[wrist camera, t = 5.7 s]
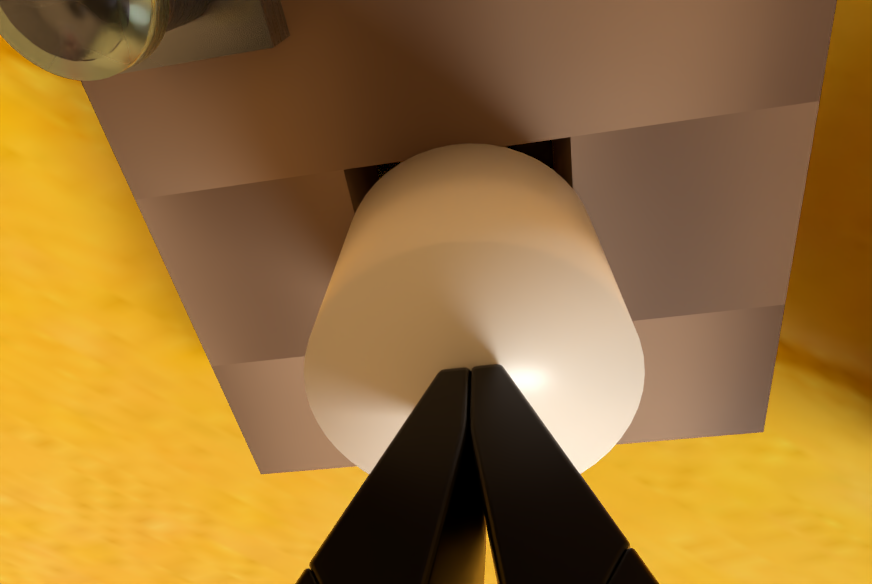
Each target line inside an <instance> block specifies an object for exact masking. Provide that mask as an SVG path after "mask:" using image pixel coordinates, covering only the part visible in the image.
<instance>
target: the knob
mask: <svg viewBox="0 0 872 584" xmlns="http://www.w3.org/2000/svg"><path fill="white" fill-rule="evenodd" d="M490 364H500V365H502V366H503V367H504V368H505V370H506V371H507V373H508V374H509V375H510V377H511V378H512V380H513V381H514V382H515V384H516V385H517V387H518V388H519V389H520V391H521V392H522V394H523V395H524V396H525V398H526V399H527V401H528V402H529V403H530V405H531V406H532V408H533V409H534V410H535V412H536V413H537V415H538V416H539V417H540V419H541V420H542V422H543V423H544V424H545V426H546V427H547V429H548V430H549V431H550V433H551V434H552V436H553V437H554V438H555V440H556V441H557V442H558V444H559V445H560V447H561V448H562V449H563V451H564V452H565V454H566V455H567V456H568V458H569V459H570V461H571V462H572V463H573V465H574V466H575V468H576V469H577V470H578V472H579V473H580V474H581V473H582V472H584V471H585V470H587V469H588V468H590V467H591V466H593V465H594V464H595V463H597V462H598V461H599V460H600V459H601V458H602V457H603V456H605V455H606V454H607V453H608V452H609V451H610V450H611V449H612V448H613V447H614V446H615V444H616V443H617V442H618V441H619V440H620V439H621V437H622V436H623V434H624V433H625V431H626V430H627V428H628V427H629V425H630V424H631V422H632V420H633V418H634V416H635V414H636V411H637V409H638V407H639V403H640V400H641V396H642V393H643V386H644V377H645V368H644V355H643V351H642V347H641V343H640V339H639V336H638V334H637V332H636V329H635V327H634V324H633V322H632V319H631V317H630V315H629V312H628V310H627V307H626V305H625V303H624V300H623V298H622V295H621V293H620V290H619V288H618V286H617V283H616V281H615V278H614V276H613V274H612V271H611V269H610V266H609V264H608V261H607V259H606V257H605V254H604V252H603V249H602V247H601V245H600V242H599V240H598V237H597V235H596V232H595V230H594V228H593V225H592V223H591V220H590V218H589V216H588V213H587V211H586V209H585V207H584V205H583V203H582V202H581V200H580V198H579V197H578V195H577V194H576V192H575V191H574V190H573V189H572V188H571V186H570V185H569V184H568V183H567V182H566V181H565V180H564V179H563V178H562V177H561V176H560V175H559V174H557V173H556V172H555V171H554V170H553V169H551V168H550V167H548V166H547V165H545V164H544V163H542V162H540V161H539V160H537V159H535V158H533V157H531V156H528V155H526V154H524V153H522V152H519V151H515V150H512V149H509V148H506V147H501V146H495V145H489V144H472V143H468V144H456V145H448V146H444V147H439V148H434V149H431V150H428V151H426V152H423V153H420V154H417V155H415V156H413V157H411V158H409V159H407V160H405V161H403V162H401V163H400V164H398V165H397V166H396V167H394V168H393V169H391V170H390V171H388V172H387V173H386V174H385V175H384V176H383V177H382V178H380V179H379V180H378V181H377V182H376V183H375V184H374V185H373V187H372V188H371V189H370V190H369V191H368V193H367V194H366V195H365V197H364V198H363V200H362V202H361V203H360V205H359V206H358V208H357V210H356V213H355V215H354V217H353V220H352V222H351V225H350V228H349V230H348V233H347V236H346V239H345V241H344V244H343V247H342V250H341V252H340V255H339V258H338V261H337V263H336V266H335V269H334V272H333V274H332V277H331V280H330V283H329V285H328V288H327V291H326V294H325V296H324V299H323V302H322V305H321V307H320V310H319V313H318V316H317V318H316V321H315V324H314V327H313V329H312V332H311V335H310V338H309V341H308V345H307V349H306V354H305V361H304V381H305V390H306V394H307V398H308V401H309V405H310V408H311V410H312V412H313V414H314V417H315V419H316V421H317V423H318V424H319V426H320V427H321V429H322V431H323V432H324V434H325V435H326V437H327V438H328V439H329V440H330V441H331V442H332V444H333V445H334V446H335V447H336V448H337V449H338V450H339V451H340V452H341V453H342V454H343V455H344V456H345V457H346V458H347V459H348V460H350V461H351V462H352V463H354V464H355V465H356V466H358V467H359V468H360V469H362V470H363V471H365V472H366V473H368V474H370V473H371V471H372V470H373V468H374V467H375V465H376V464H377V462H378V461H379V459H380V458H381V456H382V455H383V453H384V452H385V451H386V449H387V448H388V446H389V445H390V443H391V442H392V440H393V439H394V437H395V436H396V434H397V433H398V431H399V430H400V428H401V427H402V425H403V424H404V422H405V421H406V419H407V418H408V416H409V415H410V413H411V412H412V410H413V409H414V407H415V406H416V404H417V403H418V402H419V400H420V399H421V397H422V396H423V394H424V393H425V391H426V390H427V388H428V387H429V385H430V384H431V382H432V381H433V379H434V378H435V376H436V375H437V373H438V372H439V371H441V370H443V369H451V368H461V367H467V368H469V369H470V371H471V370H472V368H473V367H474V366H480V365H490Z"/></svg>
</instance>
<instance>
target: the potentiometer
mask: <svg viewBox="0 0 872 584" xmlns="http://www.w3.org/2000/svg"><path fill="white" fill-rule="evenodd" d="M0 35H1V36H2V37H3V38H4V39H5V40H6V41H7V42H8V43H9V44H10V45H11V46H12V47H13V48H14V49H15V50H16V51H17V52H19V53H20V54H21V55H22V56H23V57H25V58H26V59H28V60H29V61H31V62H32V63H34V64H35V65H37V66H39V67H41V68H42V69H44V70H46V71H48V72H51V73H53V74H55V75H58V76H62V77H65V78H69V79H74V80H83V81H92V80H101V79H105V78H109V77H111V76H113V75H116V74H118V73H120V74H123V73H128V72H134V71H140V70H146V69H152V68H157V67H163V66H169V65H175V64H181V63H187V62H192V61H198V60H204V59H210V58H216V57H222V56H227V55H233V54H239V53H245V52H251V51H256V50H262V49H268V48H274V47H275V46H276V45H278V44H279V43H281V42H282V41H283V40H285V39H286V38H288V37H289V36H290V33H289V29H288V26H287V22H286V18H285V15H284V11H283V7H282V4H281V0H0Z"/></svg>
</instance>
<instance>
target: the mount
mask: <svg viewBox="0 0 872 584" xmlns="http://www.w3.org/2000/svg"><path fill="white" fill-rule="evenodd" d="M836 2H837V0H281V4H282V7H283V11H284V15H285V18H286V22H287V26H288V29H289V33H290V36H289V37H288V38H286V39H285V40H283V41H282V42H281V43H279V44H278V45H276V46H275V47H274V48H268V49H262V50H256V51H251V52H245V53H239V54H233V55H227V56H222V57H216V58H210V59H204V60H198V61H192V62H187V63H181V64H175V65H169V66H163V67H157V68H152V69H146V70H140V71H134V72H128V73H123V74H120V73H118V74H116V75H113V76H111V77H109V78H105V79H101V80H92V81H83V80H81V82H82V85H83V87H84V89H85V91H86V93H87V95H88V98H89V100H90V102H91V104H92V106H93V109H94V111H95V113H96V115H97V117H98V119H99V122H100V124H101V126H102V128H103V130H104V133H105V135H106V137H107V139H108V141H109V143H110V146H111V148H112V150H113V152H114V154H115V157H116V159H117V161H118V163H119V165H120V167H121V170H122V172H123V174H124V176H125V178H126V181H127V183H128V185H129V187H130V189H131V191H132V194H133V196H134V198H135V200H136V202H137V205H138V207H139V209H140V211H141V213H142V215H143V218H144V220H145V222H146V224H147V226H148V229H149V231H150V233H151V235H152V237H153V239H154V242H155V244H156V246H157V248H158V250H159V253H160V255H161V257H162V259H163V261H164V263H165V266H166V268H167V270H168V272H169V274H170V277H171V279H172V281H173V283H174V285H175V287H176V290H177V292H178V294H179V296H180V298H181V301H182V303H183V305H184V307H185V309H186V311H187V314H188V316H189V318H190V320H191V322H192V325H193V327H194V329H195V331H196V333H197V335H198V338H199V340H200V342H201V344H202V346H203V349H204V351H205V353H206V355H207V357H208V359H209V362H210V364H211V366H212V368H213V370H214V373H215V375H216V377H217V379H218V381H219V383H220V386H221V388H222V390H223V392H224V394H225V397H226V399H227V401H228V403H229V405H230V407H231V410H232V412H233V414H234V416H235V418H236V421H237V423H238V425H239V427H240V429H241V431H242V434H243V436H244V438H245V440H246V442H247V445H248V447H249V449H250V451H251V453H252V455H253V458H254V460H255V462H256V464H257V466H258V469H259V471H260V473H261V474H270V473H281V472H293V471H305V470H317V469H329V468H341V467H353V466H356V465H355V464H354V463H352V462H351V461H350V460H348V459H347V458H346V457H345V456H344V455H343V454H342V453H341V452H340V451H339V450H338V449H337V448H336V447H335V446H334V445H333V444H332V442H331V441H330V440H329V439H328V438H327V437H326V435H325V434H324V432H323V431H322V429H321V427H320V426H319V424H318V423H317V421H316V419H315V417H314V414H313V412H312V410H311V408H310V405H309V401H308V398H307V394H306V390H305V381H304V361H305V354H306V349H307V345H308V341H309V338H310V335H311V332H312V329H313V327H314V324H315V321H316V318H317V316H318V313H319V310H320V307H321V305H322V302H323V299H324V296H325V294H326V291H327V288H328V285H329V283H330V280H331V277H332V274H333V272H334V269H335V266H336V263H337V261H338V258H339V255H340V252H341V250H342V247H343V244H344V241H345V239H346V236H347V233H348V230H349V228H350V225H351V222H352V220H353V217H354V215H355V213H356V210H357V208H358V206H359V205H360V203H361V202H362V200H363V198H364V197H365V195H366V194H367V193H368V191H369V190H370V189H371V188H372V187H373V185H374V184H375V183H376V182H377V181H378V180H379V175H378V171H377V166H376V165H380V164H387V163H394V162H400V161H405V160H407V159H409V158H411V157H413V156H415V155H417V154H420V153H423V152H426V151H428V150H431V149H434V148H439V147H444V146H448V145H456V144H468V143H472V144H489V145H495V146H501V147H504V146H511V145H518V144H525V143H532V142H539V141H546V140H552V144H553V160H554V171H555V172H556V173H557V174H559V175H560V176H561V177H562V178H563V179H564V180H565V181H566V182H567V183H568V184H569V185H570V186H571V188H572V189H573V190H574V191H575V192H576V194H577V195H578V197H579V198H580V200H581V202H582V203H583V205H584V207H585V209H586V211H587V213H588V216H589V218H590V220H591V223H592V225H593V228H594V230H595V232H596V235H597V237H598V240H599V242H600V245H601V247H602V249H603V252H604V254H605V257H606V259H607V261H608V264H609V266H610V269H611V271H612V274H613V276H614V278H615V281H616V283H617V286H618V288H619V290H620V293H621V295H622V298H623V300H624V303H625V305H626V307H627V310H628V312H629V315H630V317H631V319H632V322H633V324H634V327H635V329H636V332H637V334H638V336H639V339H640V343H641V347H642V351H643V355H644V368H645V377H644V386H643V393H642V396H641V400H640V403H639V407H638V409H637V411H636V414H635V416H634V418H633V420H632V422H631V424H630V425H629V427H628V428H627V430H626V431H625V433H624V434H623V436H622V437H621V439H620V440H619V441H618V442H617V443H616V444H626V443H638V442H650V441H662V440H674V439H686V438H698V437H709V436H721V435H733V434H745V433H757V432H763V431H764V425H765V419H766V413H767V407H768V401H769V395H770V389H771V384H772V378H773V372H774V366H775V360H776V354H777V348H778V343H779V337H780V331H781V325H782V319H783V313H784V307H785V301H786V296H787V290H788V284H789V278H790V272H791V266H792V260H793V255H794V249H795V243H796V237H797V231H798V225H799V219H800V213H801V208H802V202H803V196H804V190H805V184H806V178H807V172H808V167H809V161H810V155H811V149H812V143H813V137H814V131H815V125H816V120H817V114H818V108H819V102H820V96H821V90H822V84H823V79H824V73H825V67H826V61H827V55H828V49H829V43H830V37H831V32H832V26H833V20H834V14H835V8H836Z"/></svg>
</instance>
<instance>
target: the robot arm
mask: <svg viewBox="0 0 872 584" xmlns="http://www.w3.org/2000/svg"><path fill="white" fill-rule="evenodd" d="M486 526H487V531H488V537H489V542H490V547H491V553H492V558H493V563H494V568H495V573H496V578H497V584H659V583H658V581H657V580H656V579H655V577H654V576H653V575H652V573H651V572H650V570H649V569H648V568H647V566H646V565H645V563H644V562H643V561H642V559H641V558H640V556H639V555H638V554H637V552H636V551H635V550H634V549H633V548H630V544H629V542H628V540H627V539H626V537H625V536H624V535H623V533H622V532H621V530H620V529H619V528H618V526H617V525H616V524H615V522H614V521H613V519H612V518H611V517H610V515H609V514H608V512H607V511H606V510H605V508H604V507H603V505H602V504H601V503H600V501H599V500H598V498H597V497H596V496H595V494H594V493H593V491H592V490H591V489H590V487H589V486H588V484H587V483H586V482H585V480H584V479H583V477H582V476H581V475H580V473H579V472H578V470H577V469H576V468H575V466H574V465H573V463H572V462H571V461H570V459H569V458H568V456H567V455H566V454H565V452H564V451H563V449H562V448H561V447H560V445H559V444H558V442H557V441H556V440H555V438H554V437H553V436H552V434H551V433H550V431H549V430H548V429H547V427H546V426H545V424H544V423H543V422H542V420H541V419H540V417H539V416H538V415H537V413H536V412H535V410H534V409H533V408H532V406H531V405H530V403H529V402H528V401H527V399H526V398H525V396H524V395H523V394H522V392H521V391H520V389H519V388H518V387H517V385H516V384H515V382H514V381H513V380H512V378H511V377H510V375H509V374H508V373H507V371H506V370H505V368H504V367H503V366H502V365H500V364H490V365H480V366H474V367H473V368H472V370H471V371H470V369H469V368H467V367H461V368H451V369H443V370H441V371H439V372H438V373H437V375H436V376H435V378H434V379H433V381H432V382H431V384H430V385H429V387H428V388H427V390H426V391H425V393H424V394H423V396H422V397H421V399H420V400H419V402H418V403H417V404H416V406H415V407H414V409H413V410H412V412H411V413H410V415H409V416H408V418H407V419H406V421H405V422H404V424H403V425H402V427H401V428H400V430H399V431H398V433H397V434H396V436H395V437H394V439H393V440H392V442H391V443H390V445H389V446H388V448H387V449H386V451H385V452H384V453H383V455H382V456H381V458H380V459H379V461H378V462H377V464H376V465H375V467H374V468H373V470H372V471H371V473H370V474H369V476H368V477H367V479H366V480H365V482H364V483H363V485H362V486H361V488H360V489H359V491H358V492H357V494H356V495H355V497H354V498H353V499H352V501H351V502H350V504H349V505H348V507H347V508H346V510H345V511H344V513H343V514H342V516H341V517H340V519H339V520H338V522H337V523H336V525H335V526H334V528H333V529H332V531H331V532H330V534H329V535H328V537H327V538H326V540H325V541H324V543H323V544H322V545H321V547H320V548H319V550H318V551H317V553H316V554H315V556H314V557H313V559H312V560H311V562H310V564H309V566H310V569H305V570H304V572H303V573H302V575H301V576H300V578H299V579H298V581H297V582H296V584H484V572H485V554H486Z"/></svg>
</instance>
